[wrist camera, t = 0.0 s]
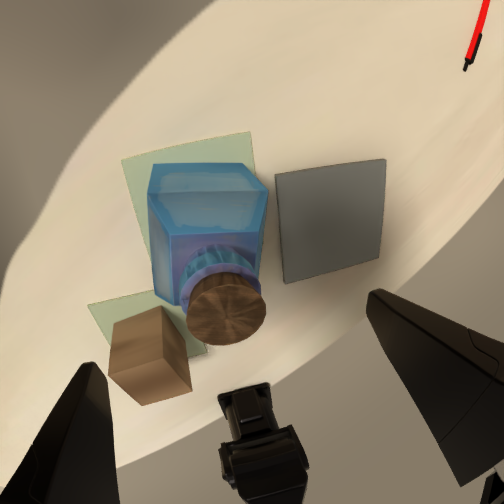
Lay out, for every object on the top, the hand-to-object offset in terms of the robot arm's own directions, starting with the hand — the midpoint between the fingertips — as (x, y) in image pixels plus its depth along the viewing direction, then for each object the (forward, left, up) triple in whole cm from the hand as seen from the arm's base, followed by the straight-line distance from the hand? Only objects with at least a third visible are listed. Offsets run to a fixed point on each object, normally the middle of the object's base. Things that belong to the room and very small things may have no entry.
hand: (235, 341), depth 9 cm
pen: (+17, -33, -15) cm, 40 cm away
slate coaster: (-5, -11, -15) cm, 19 cm away
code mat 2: (-12, +7, -15) cm, 20 cm away
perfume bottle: (-1, 0, -15) cm, 15 cm away
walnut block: (-12, +7, -14) cm, 20 cm away
